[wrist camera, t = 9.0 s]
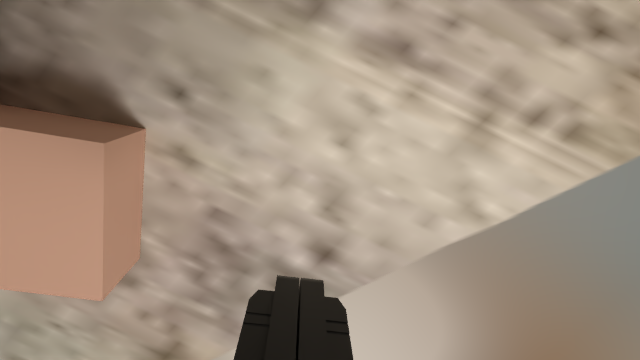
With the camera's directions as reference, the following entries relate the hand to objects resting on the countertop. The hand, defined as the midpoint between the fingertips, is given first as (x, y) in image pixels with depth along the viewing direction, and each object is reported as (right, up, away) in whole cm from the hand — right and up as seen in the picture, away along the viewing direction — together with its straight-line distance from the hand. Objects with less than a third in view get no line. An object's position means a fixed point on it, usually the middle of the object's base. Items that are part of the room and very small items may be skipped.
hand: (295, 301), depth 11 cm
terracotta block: (-13, +4, +9) cm, 16 cm away
